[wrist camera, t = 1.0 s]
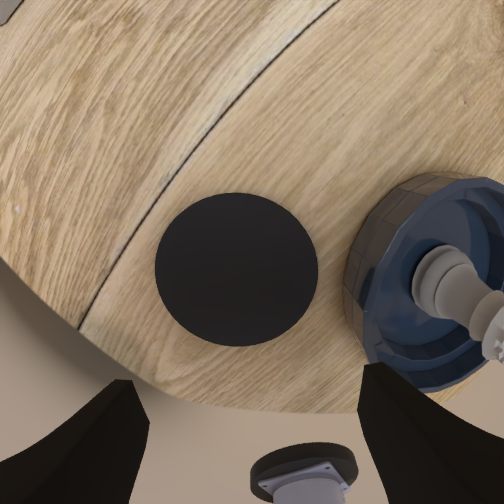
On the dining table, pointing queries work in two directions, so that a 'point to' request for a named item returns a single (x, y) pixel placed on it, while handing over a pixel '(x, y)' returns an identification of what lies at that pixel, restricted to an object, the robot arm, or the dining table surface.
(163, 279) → the coaster
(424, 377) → the bowl
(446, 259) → the rook chess piece
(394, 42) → the dining table surface
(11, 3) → the flask
